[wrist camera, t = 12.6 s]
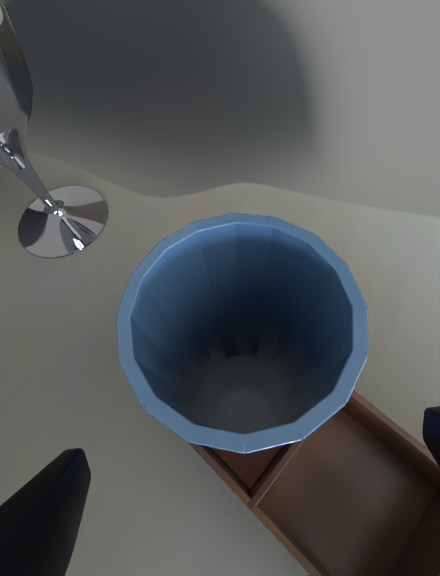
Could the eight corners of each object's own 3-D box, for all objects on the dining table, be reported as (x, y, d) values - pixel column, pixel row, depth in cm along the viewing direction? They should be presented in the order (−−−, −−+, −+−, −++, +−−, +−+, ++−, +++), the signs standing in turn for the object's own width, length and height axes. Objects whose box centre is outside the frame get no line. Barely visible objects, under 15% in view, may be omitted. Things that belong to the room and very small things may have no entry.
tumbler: (308, 409, 17) (427, 338, 6) (232, 469, 16) (203, 522, 5) (251, 336, 19) (260, 181, 8) (181, 386, 18) (78, 288, 7)
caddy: (593, 612, 13) (696, 661, 10) (528, 796, 11) (632, 924, 8) (238, 320, 20) (237, 297, 17) (160, 402, 18) (143, 394, 15)
